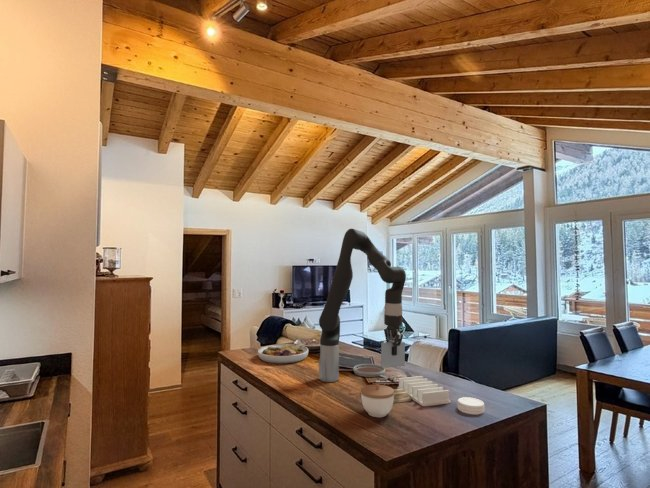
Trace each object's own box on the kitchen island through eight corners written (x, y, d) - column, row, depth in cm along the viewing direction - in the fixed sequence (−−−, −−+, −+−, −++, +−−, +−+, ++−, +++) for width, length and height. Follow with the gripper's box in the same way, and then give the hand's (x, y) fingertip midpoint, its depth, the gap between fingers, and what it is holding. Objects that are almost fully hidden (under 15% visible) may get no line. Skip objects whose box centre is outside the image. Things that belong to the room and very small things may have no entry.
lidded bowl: (372, 404, 157) (372, 377, 158) (400, 412, 149) (400, 383, 150) (354, 414, 148) (354, 385, 148) (383, 423, 140) (383, 392, 140)
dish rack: (422, 406, 156) (422, 393, 156) (397, 389, 176) (397, 377, 177) (450, 403, 160) (450, 390, 160) (422, 386, 180) (422, 375, 180)
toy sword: (382, 381, 181) (346, 366, 204) (382, 387, 181) (346, 371, 204) (408, 375, 191) (370, 361, 214) (408, 381, 191) (370, 366, 214)
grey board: (383, 367, 162) (383, 343, 162) (381, 366, 164) (381, 342, 164) (404, 366, 165) (404, 342, 165) (402, 364, 167) (402, 341, 167)
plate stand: (384, 404, 158) (384, 396, 158) (376, 397, 166) (376, 390, 166) (411, 400, 162) (410, 393, 162) (401, 394, 169) (401, 387, 170)
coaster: (460, 403, 160) (460, 395, 160) (486, 408, 154) (486, 399, 155) (455, 412, 151) (454, 402, 151) (482, 417, 146) (482, 407, 146)
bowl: (254, 354, 241) (254, 341, 241) (301, 350, 250) (301, 338, 250) (261, 367, 212) (261, 352, 212) (314, 362, 221) (314, 348, 221)
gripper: (378, 311, 170) (378, 351, 170) (392, 316, 157) (392, 359, 157) (393, 311, 173) (393, 350, 172) (409, 315, 159) (408, 358, 159)
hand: (392, 354), depth 164 cm, fingers closed on grey board, 2 cm apart
